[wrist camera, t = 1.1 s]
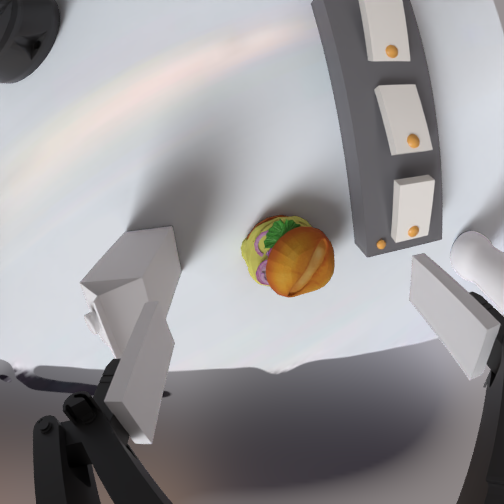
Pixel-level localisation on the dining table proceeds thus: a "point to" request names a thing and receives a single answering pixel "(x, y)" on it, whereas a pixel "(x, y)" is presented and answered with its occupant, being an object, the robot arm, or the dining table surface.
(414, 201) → the rocker
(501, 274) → the bottle
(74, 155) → the dining table surface
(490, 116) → the dining table surface
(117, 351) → the milk carton
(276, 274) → the cheeseburger
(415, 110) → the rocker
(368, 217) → the power strip
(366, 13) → the rocker
